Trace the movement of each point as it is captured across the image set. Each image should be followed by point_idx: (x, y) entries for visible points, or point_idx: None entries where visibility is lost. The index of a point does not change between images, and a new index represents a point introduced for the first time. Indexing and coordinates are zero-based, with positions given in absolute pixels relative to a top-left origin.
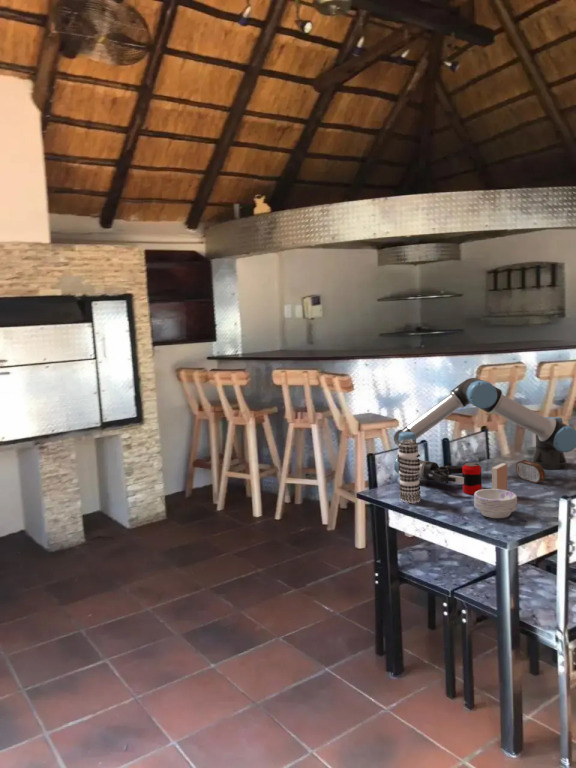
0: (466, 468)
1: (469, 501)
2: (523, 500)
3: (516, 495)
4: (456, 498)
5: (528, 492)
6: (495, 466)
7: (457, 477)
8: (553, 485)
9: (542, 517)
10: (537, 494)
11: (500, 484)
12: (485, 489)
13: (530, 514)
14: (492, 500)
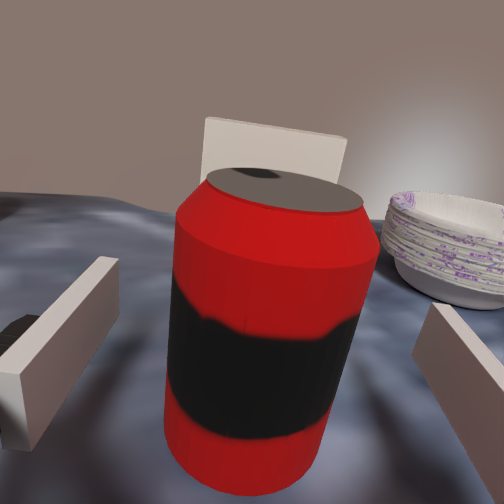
0: (373, 231)
1: (427, 383)
2: None
3: (411, 191)
4: (467, 477)
5: (128, 244)
6: (300, 132)
7: (479, 349)
8: (4, 209)
9: None
10: (147, 231)
11: None
12: (470, 227)
13: None
14: None
